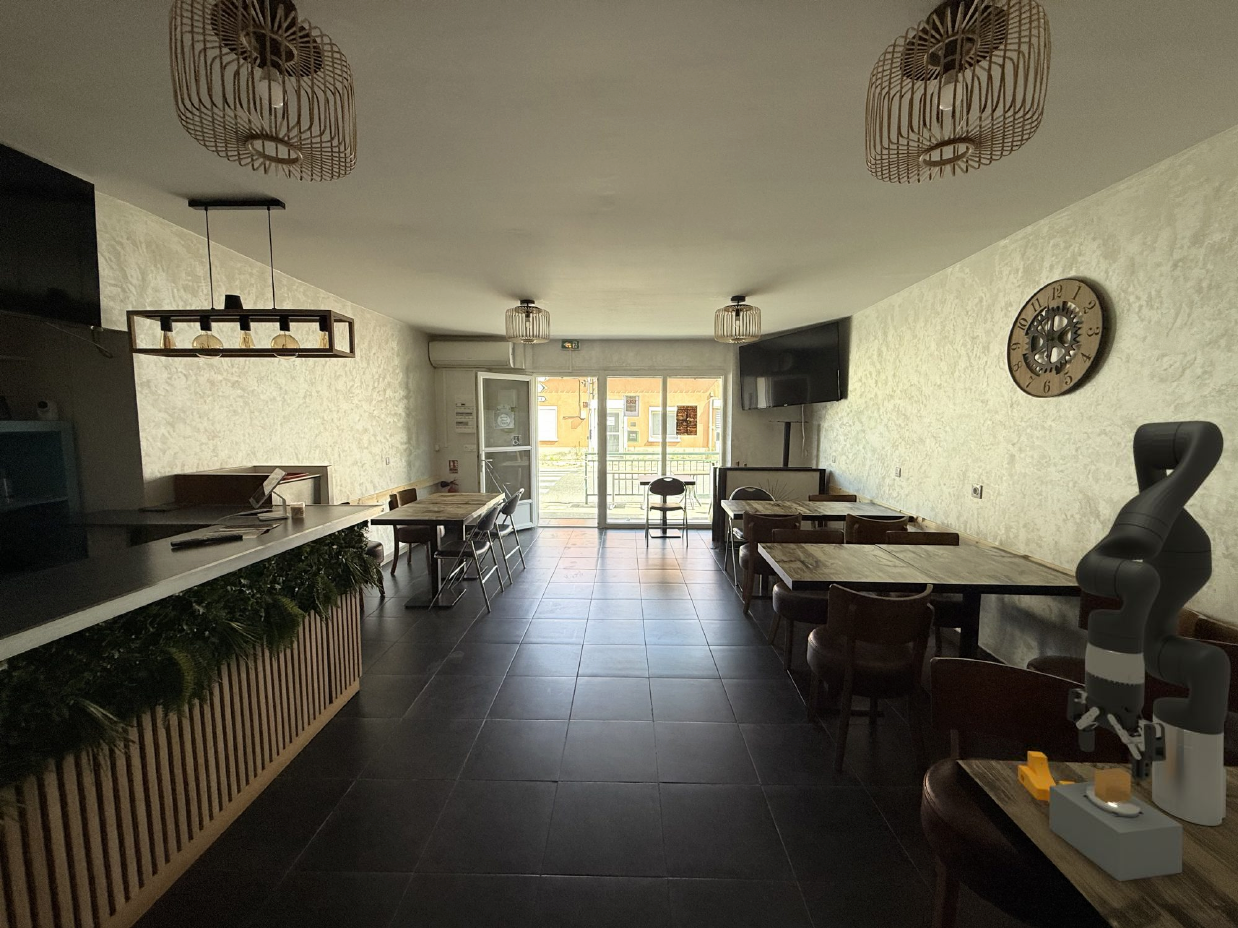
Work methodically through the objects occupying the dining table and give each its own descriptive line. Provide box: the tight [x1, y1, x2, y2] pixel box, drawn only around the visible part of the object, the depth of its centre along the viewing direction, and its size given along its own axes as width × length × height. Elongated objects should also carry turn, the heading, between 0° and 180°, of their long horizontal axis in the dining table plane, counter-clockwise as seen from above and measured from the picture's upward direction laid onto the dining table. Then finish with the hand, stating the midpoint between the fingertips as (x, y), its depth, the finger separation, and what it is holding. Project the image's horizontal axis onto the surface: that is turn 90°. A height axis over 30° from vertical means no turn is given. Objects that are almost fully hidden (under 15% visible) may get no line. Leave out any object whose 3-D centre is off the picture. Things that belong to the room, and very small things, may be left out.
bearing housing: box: [1048, 780, 1184, 882], centre depth 91 cm, size 12×12×8 cm
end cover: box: [1086, 767, 1140, 817], centre depth 91 cm, size 7×7×9 cm
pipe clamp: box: [1017, 750, 1075, 803], centre depth 105 cm, size 12×4×6 cm, turn 170°
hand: (1112, 764), depth 91 cm, fingers open, 8 cm apart
